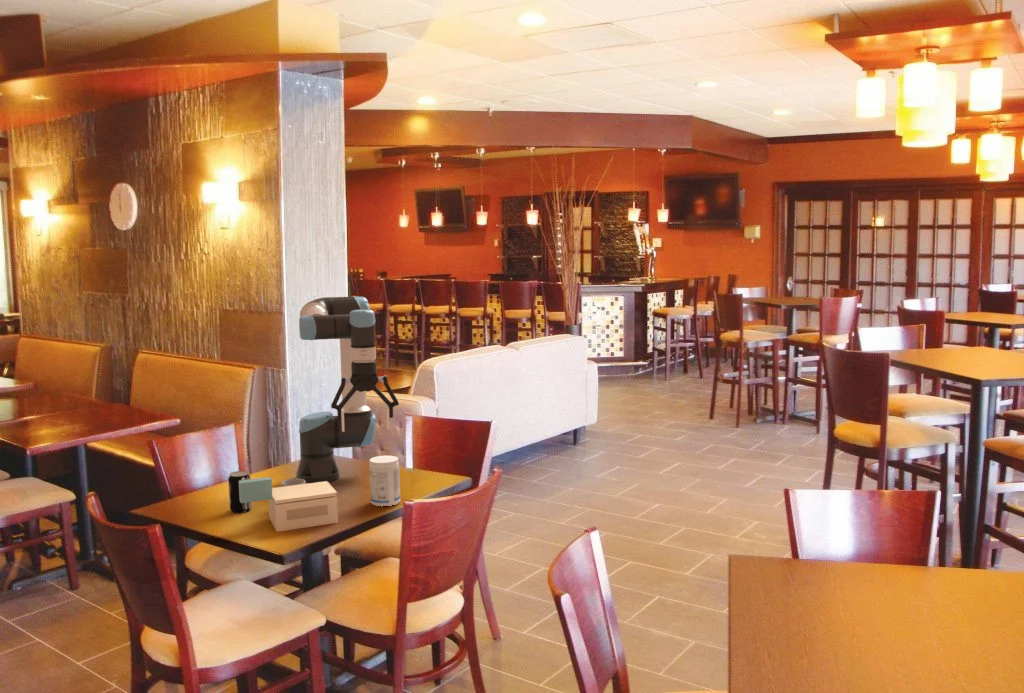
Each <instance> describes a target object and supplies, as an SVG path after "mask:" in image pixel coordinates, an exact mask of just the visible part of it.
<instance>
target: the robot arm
mask: <svg viewBox="0 0 1024 693" xmlns="http://www.w3.org/2000/svg"><path fill="white" fill-rule="evenodd" d="M375 315H376V314H375V311H374V310H372V309H371V308H370V303H369V301H368V299H367V298H366V297H364V296H354V295H353V296H334V297H333V296H330V297H329V296H327V297H320V298H316V299H313V300H310V301H309V302H307V303H305V304H304V305H303V306H302V308H301V309H300V312H299V320H298V323H299V324H298V326H299V327H298V328H299V338H300V340H302V341H314V340H316V341H317V340H319V341H320V340H333V339H334V340H337V339H338V340H339V351H340V353H339V354H340V357H339V358H340V375H341V377H340V379H341V380H340V384H339V387H338V390H337V392H336V394H335V397H333V401H332V402H331V405H330V406H331V409H334V410H336V412H337V415H334V414H333V412H331V411H318V412H314V413H310V414H307V415H305V416H302V417H301V418H300V419H299V421H298V422H299V424H298V426H299V429H298V433H299V452H300V459H299V463H298V466H297V470H296V474H295V476H296V477H295V479H304V480H305V481H306V483H305V484H308V483H316V482H324V481H327V482H328V483H330V482H333V481H336V480H338V479H339V478H340V469H339V466H338V464H337V462H336V458H335V454H334V452H335V451H334V449H343V448H345V449H346V448H356V447H357V448H361V447H369V446H371V445H372V444H373V442H374V441H375V440H374V438H375V434H376V424H377V423H376V414H375V413H374V412H372V408H371V407H370V406H368V405H367V392H371V391H373V392H374V393H375V394H376V396H378V397H379V398H380V399H381V400H382V401H383V402H384V403H385V404H386V407H385V410H386V413H385V414H386V429H387V430H391V427H390V424H391V423H390V419H393V418H394V408H395V407H397V406H398V405H399V404H400V403H399V401H398V398H397V397H396V395H395V393H394V392H393V390H392V388H391V385H390V384H389V382H388V377H387V375H383V376H378V373H377V362H376V359H377V346H376V344H377V343H376V321H377V320H376V316H375ZM378 382H380V383H381V384H383V385H384V388H385V389H386V391H387V392H388V395H389V397H390V398H391V400H392V402H391V400H389V399H388V397H387V396H386V395H385V394H384V393H383V392H382V391H381V390H380V389H379V387H378V386H377V383H378ZM340 397H341V401H340V402H339V400H340ZM338 402H339V403H338Z"/></svg>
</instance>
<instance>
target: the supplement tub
mask: <svg viewBox="0 0 1024 693" xmlns="http://www.w3.org/2000/svg"><path fill="white" fill-rule="evenodd" d="M368 461H369V463H368V464H369V466H368V472H369V488H370V493H369V494H370V503H371V505H373V506H374V505H375V507H378V506H379V508H382V507H383V506H389V507H393V506H392V505H394V506H396V505H398V504H399V503H400V502H401V482H400V481H401V480H400V479H401V478H400V477H401V476H400V462H399V457H398V456H395V455H378V456H373V457H371V458H369V460H368ZM380 506H381V507H380ZM383 508H384V507H383Z"/></svg>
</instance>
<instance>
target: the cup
mask: <svg viewBox="0 0 1024 693" xmlns="http://www.w3.org/2000/svg"><path fill="white" fill-rule="evenodd" d="M300 484H307V483H306V481H305V480H304V479H296V478H290V479H285V480H282V481H281V482H280V487H285V486H293V485H300Z"/></svg>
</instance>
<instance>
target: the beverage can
mask: <svg viewBox="0 0 1024 693" xmlns="http://www.w3.org/2000/svg"><path fill="white" fill-rule="evenodd" d="M249 479H251V476H250V474H249V471H247V470H239V471H238V470H237V471H233V472H230V473H229V477H228V480H227V481H228V496H229V498H228V499H229V510H230V511H231V512H232V513H235V514H242V513H247V512H249V511H250V510H251V509H252V507H253V505H252V504H253V502H247V503H241V502H240V498H239V481H241V480H249Z"/></svg>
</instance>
